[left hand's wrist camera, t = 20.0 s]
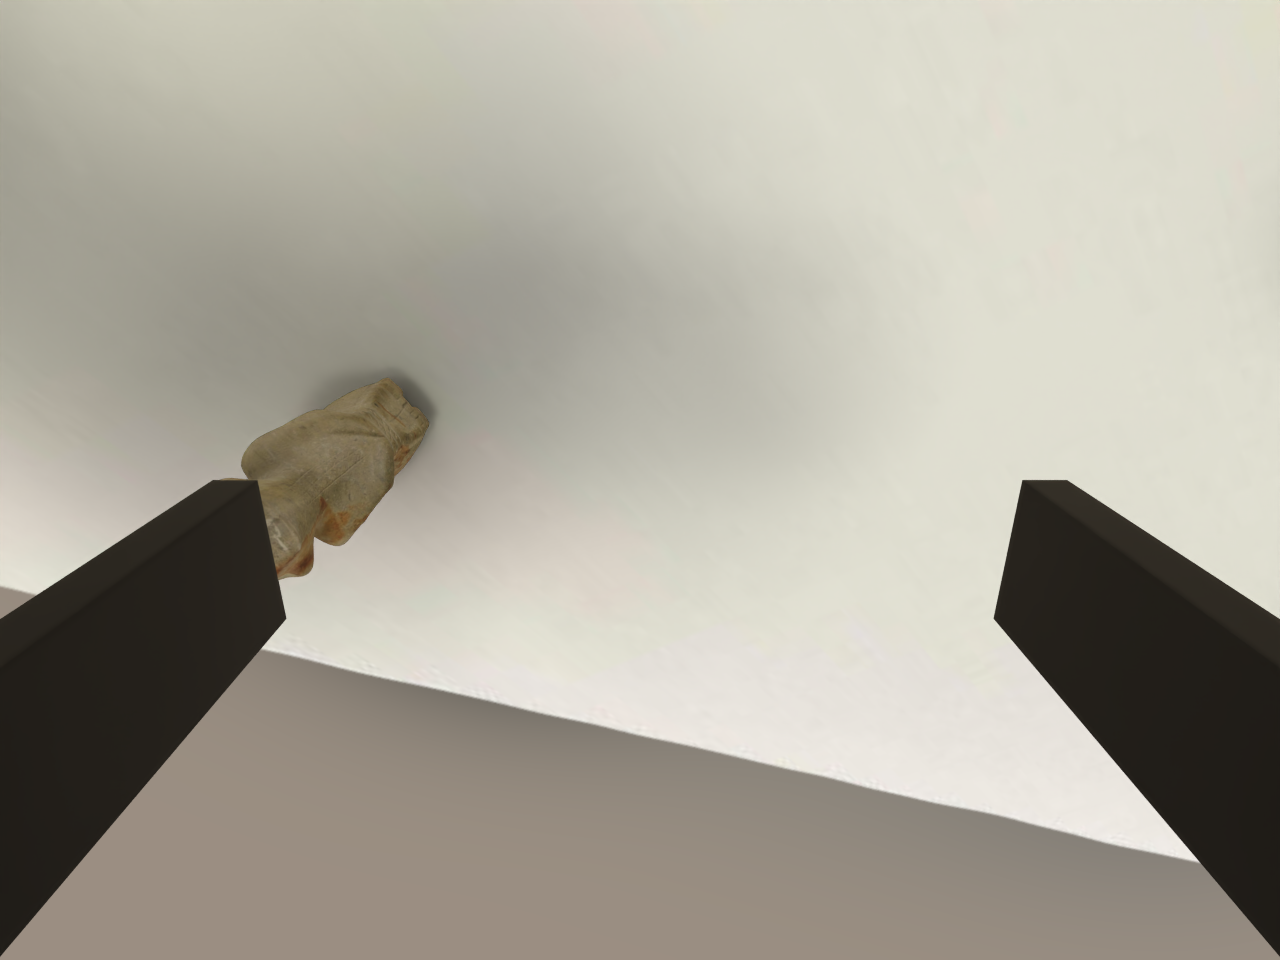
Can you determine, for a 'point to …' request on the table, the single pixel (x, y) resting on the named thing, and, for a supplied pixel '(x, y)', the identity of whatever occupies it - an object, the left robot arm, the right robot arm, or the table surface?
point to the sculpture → (331, 470)
